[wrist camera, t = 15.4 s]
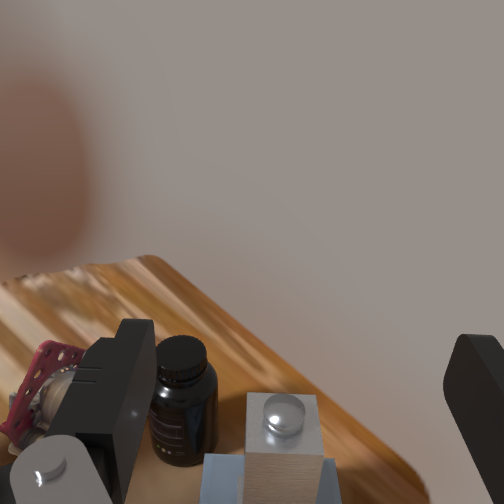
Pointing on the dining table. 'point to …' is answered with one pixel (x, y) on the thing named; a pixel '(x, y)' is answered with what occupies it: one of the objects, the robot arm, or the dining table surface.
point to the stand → (230, 466)
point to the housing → (281, 450)
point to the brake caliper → (40, 394)
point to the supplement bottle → (183, 402)
